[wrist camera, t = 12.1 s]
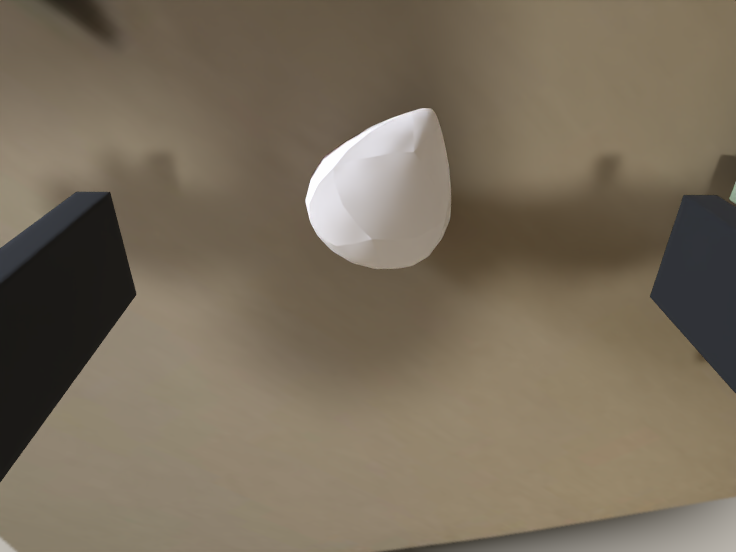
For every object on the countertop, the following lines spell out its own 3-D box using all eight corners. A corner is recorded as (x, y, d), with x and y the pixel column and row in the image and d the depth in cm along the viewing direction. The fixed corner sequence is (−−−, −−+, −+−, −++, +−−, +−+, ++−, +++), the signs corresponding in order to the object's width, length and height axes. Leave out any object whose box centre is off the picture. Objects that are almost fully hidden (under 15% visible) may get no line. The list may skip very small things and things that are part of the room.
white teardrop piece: (293, 212, 17) (282, 248, 15) (359, 63, 14) (358, 80, 12) (409, 262, 18) (416, 303, 16) (489, 131, 15) (509, 157, 13)
